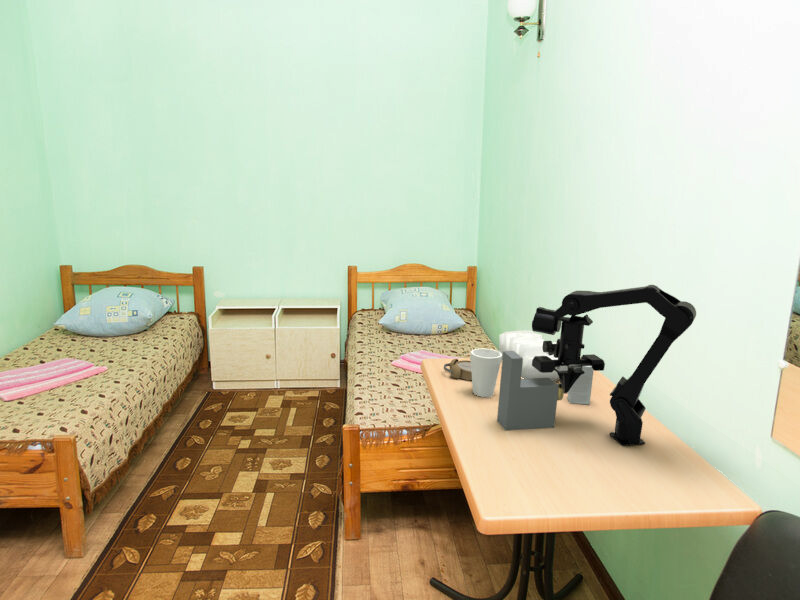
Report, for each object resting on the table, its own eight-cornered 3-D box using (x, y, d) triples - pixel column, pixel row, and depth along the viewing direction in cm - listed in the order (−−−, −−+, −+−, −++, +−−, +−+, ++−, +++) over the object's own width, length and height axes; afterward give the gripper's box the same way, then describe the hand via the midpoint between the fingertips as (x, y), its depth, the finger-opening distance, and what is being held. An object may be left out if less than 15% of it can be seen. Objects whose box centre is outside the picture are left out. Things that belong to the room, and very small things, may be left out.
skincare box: (586, 399, 173) (591, 362, 170) (589, 405, 169) (594, 367, 166) (566, 397, 174) (570, 360, 171) (569, 403, 170) (573, 365, 167)
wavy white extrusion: (492, 351, 215) (494, 325, 213) (533, 351, 218) (536, 325, 215) (525, 386, 182) (528, 355, 179) (573, 385, 184) (577, 355, 182)
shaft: (562, 403, 152) (564, 387, 151) (518, 405, 150) (519, 388, 149) (554, 396, 157) (556, 380, 156) (511, 398, 154) (512, 382, 153)
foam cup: (496, 401, 169) (500, 360, 166) (465, 397, 171) (468, 356, 168) (499, 390, 178) (503, 350, 175) (470, 386, 180) (473, 346, 177)
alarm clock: (492, 374, 183) (446, 364, 183) (488, 388, 184) (443, 378, 184) (487, 362, 194) (445, 353, 193) (483, 376, 195) (441, 366, 195)
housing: (554, 427, 153) (562, 357, 148) (505, 430, 150) (512, 358, 145) (544, 418, 158) (551, 349, 154) (496, 420, 155) (503, 351, 151)
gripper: (587, 329, 161) (580, 380, 164) (526, 330, 157) (520, 383, 160) (609, 340, 150) (601, 396, 154) (544, 342, 146) (538, 399, 150)
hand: (564, 393), depth 155 cm, fingers closed
